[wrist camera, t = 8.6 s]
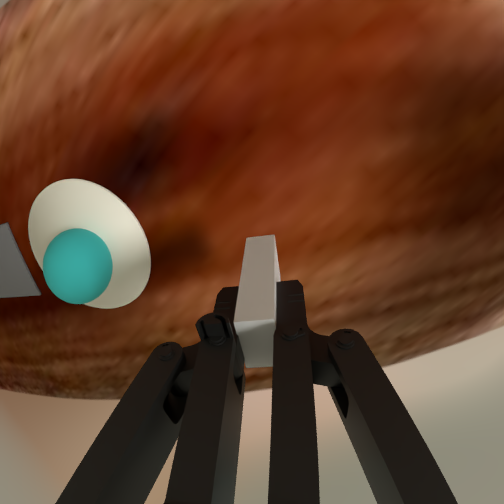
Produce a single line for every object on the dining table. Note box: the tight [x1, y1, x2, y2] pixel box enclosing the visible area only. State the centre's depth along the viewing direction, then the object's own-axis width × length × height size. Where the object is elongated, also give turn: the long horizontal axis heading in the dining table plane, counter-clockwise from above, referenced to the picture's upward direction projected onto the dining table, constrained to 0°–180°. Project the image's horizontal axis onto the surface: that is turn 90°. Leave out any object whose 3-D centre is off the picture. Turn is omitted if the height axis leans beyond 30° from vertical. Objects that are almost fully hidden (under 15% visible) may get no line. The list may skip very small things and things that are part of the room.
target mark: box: [28, 179, 151, 309], centre depth 23 cm, size 12×12×1 cm
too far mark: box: [0, 222, 41, 298], centre depth 24 cm, size 8×8×1 cm
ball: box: [43, 228, 113, 304], centre depth 20 cm, size 6×6×6 cm
